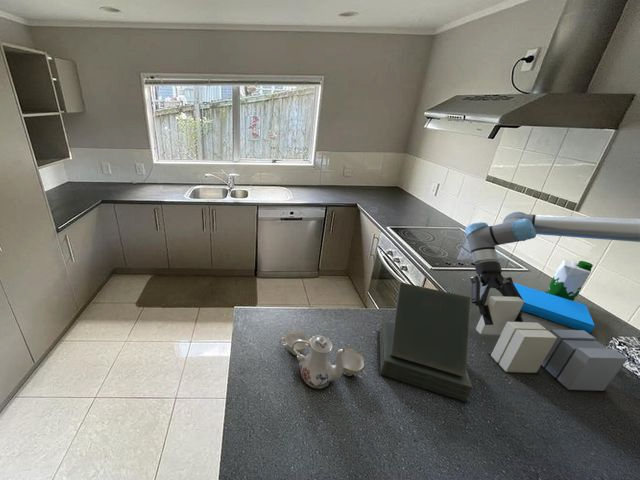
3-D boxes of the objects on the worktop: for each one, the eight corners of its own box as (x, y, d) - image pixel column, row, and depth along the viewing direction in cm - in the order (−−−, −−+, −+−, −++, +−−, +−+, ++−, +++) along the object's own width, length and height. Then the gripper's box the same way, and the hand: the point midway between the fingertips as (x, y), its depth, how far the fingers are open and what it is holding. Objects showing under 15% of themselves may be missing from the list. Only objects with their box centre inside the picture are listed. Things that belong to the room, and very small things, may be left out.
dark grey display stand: (380, 374, 88) (398, 311, 78) (379, 332, 105) (394, 276, 95) (465, 402, 80) (497, 336, 71) (449, 352, 97) (474, 293, 88)
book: (509, 281, 133) (586, 303, 118) (506, 289, 134) (581, 312, 120) (510, 298, 120) (596, 325, 106) (506, 306, 122) (590, 334, 107)
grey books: (534, 358, 96) (551, 328, 91) (565, 359, 96) (584, 329, 91) (568, 389, 85) (590, 357, 80) (603, 390, 85) (628, 358, 80)
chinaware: (363, 366, 92) (373, 324, 87) (364, 410, 77) (376, 361, 72) (281, 342, 101) (286, 302, 96) (268, 377, 86) (272, 331, 81)
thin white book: (475, 329, 103) (490, 295, 97) (502, 329, 103) (518, 296, 98) (480, 334, 101) (495, 300, 95) (507, 334, 101) (524, 301, 95)
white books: (490, 355, 96) (507, 321, 91) (519, 356, 97) (537, 322, 91) (506, 371, 90) (524, 336, 85) (536, 372, 91) (557, 337, 85)
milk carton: (572, 308, 122) (595, 269, 114) (543, 298, 128) (564, 260, 120) (571, 299, 128) (593, 261, 120) (544, 290, 134) (563, 254, 126)
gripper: (507, 266, 109) (526, 326, 101) (450, 264, 109) (464, 324, 100) (525, 261, 102) (547, 325, 94) (463, 259, 102) (480, 323, 93)
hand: (504, 325), depth 97 cm, fingers closed on thin white book, 10 cm apart
